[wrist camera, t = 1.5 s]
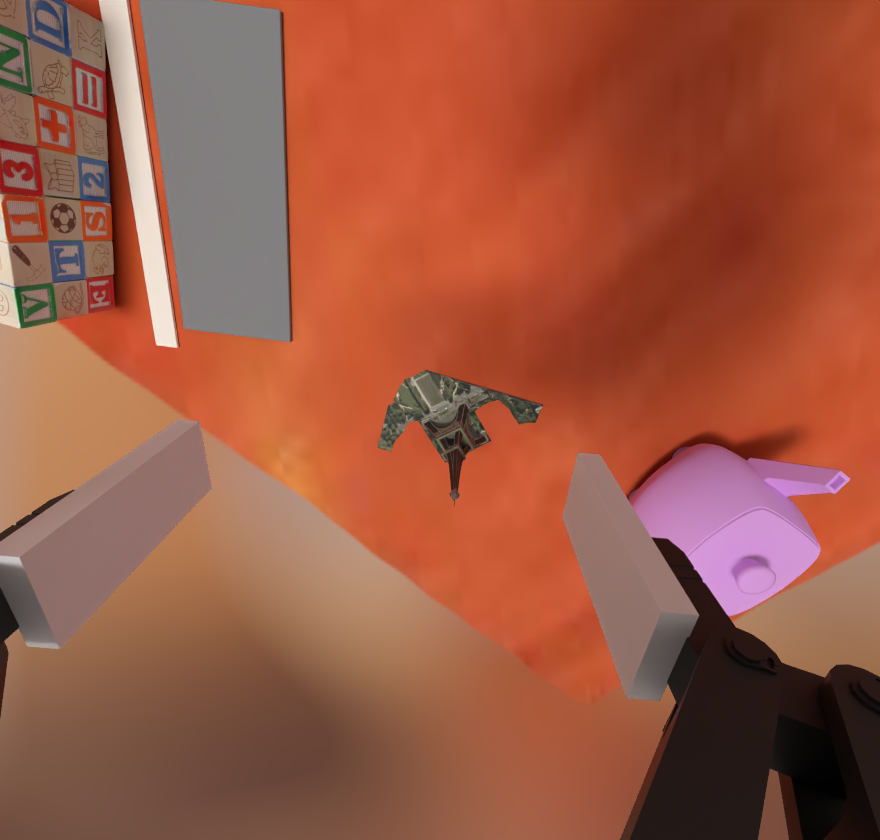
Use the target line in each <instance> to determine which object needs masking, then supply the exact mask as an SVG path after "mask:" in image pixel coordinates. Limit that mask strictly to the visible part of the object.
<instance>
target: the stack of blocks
mask: <svg viewBox="0 0 880 840" xmlns="http://www.w3.org/2000/svg"><path fill="white" fill-rule="evenodd" d="M105 69H106V57H105V34H104V25H103V23H102V22H101V21H99V20H97V19H96V18H94V17H92V16H90V15H88V14H86V13H85V12H83V11H82V10H80V9H78V8H76V7H74V6H73V5H71V4H69V3H66V2H64V1H63V0H0V323H2V324H6V325H9V326H13V327H16V328H20V329H22V328H28V327H32V326H37V325H42V324H46V323H51V322H55V321H57V320H60V319H66V318H72V317H76V316H82V315H87V314H88V313H94V312H99V311H105V310H109V309H113V308H115V302H114V284H113V276H112V275H113V274H114V260H113V244H112V213H111V204H110V185H109V165H108V145H107V123H106V119H107V95H106V74H105Z"/></svg>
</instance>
